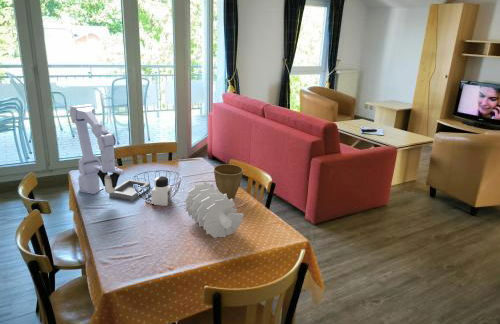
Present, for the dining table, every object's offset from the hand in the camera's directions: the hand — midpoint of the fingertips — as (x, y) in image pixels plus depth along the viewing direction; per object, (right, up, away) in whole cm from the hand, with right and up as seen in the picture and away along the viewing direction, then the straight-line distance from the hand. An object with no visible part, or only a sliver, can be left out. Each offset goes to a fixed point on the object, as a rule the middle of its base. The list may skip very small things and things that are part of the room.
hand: (110, 186), depth 179 cm
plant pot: (+55, -7, +17) cm, 58 cm away
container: (+23, -9, +8) cm, 26 cm away
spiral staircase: (+50, -18, -12) cm, 54 cm away
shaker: (0, -2, +1) cm, 2 cm away
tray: (+4, -4, +17) cm, 18 cm away
